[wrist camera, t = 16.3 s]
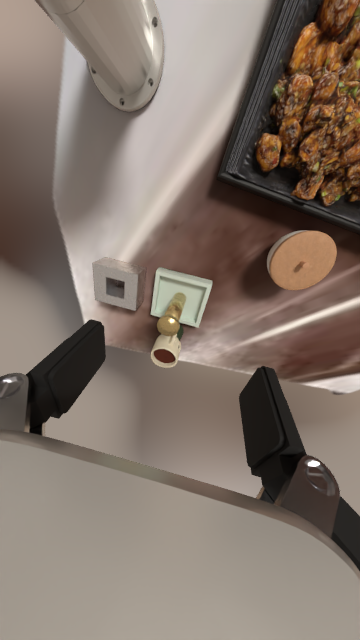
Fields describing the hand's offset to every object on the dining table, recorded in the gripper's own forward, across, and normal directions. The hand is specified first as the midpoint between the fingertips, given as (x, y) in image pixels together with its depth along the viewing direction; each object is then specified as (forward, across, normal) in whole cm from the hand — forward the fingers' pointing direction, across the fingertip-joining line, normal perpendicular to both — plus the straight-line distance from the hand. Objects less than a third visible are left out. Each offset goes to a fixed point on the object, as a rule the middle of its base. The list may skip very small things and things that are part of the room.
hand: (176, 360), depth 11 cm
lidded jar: (+36, -18, -3) cm, 41 cm away
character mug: (+36, +3, +25) cm, 44 cm away
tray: (+36, +3, +14) cm, 39 cm away
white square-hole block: (+36, +19, +13) cm, 43 cm away
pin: (+35, +3, +14) cm, 38 cm away
